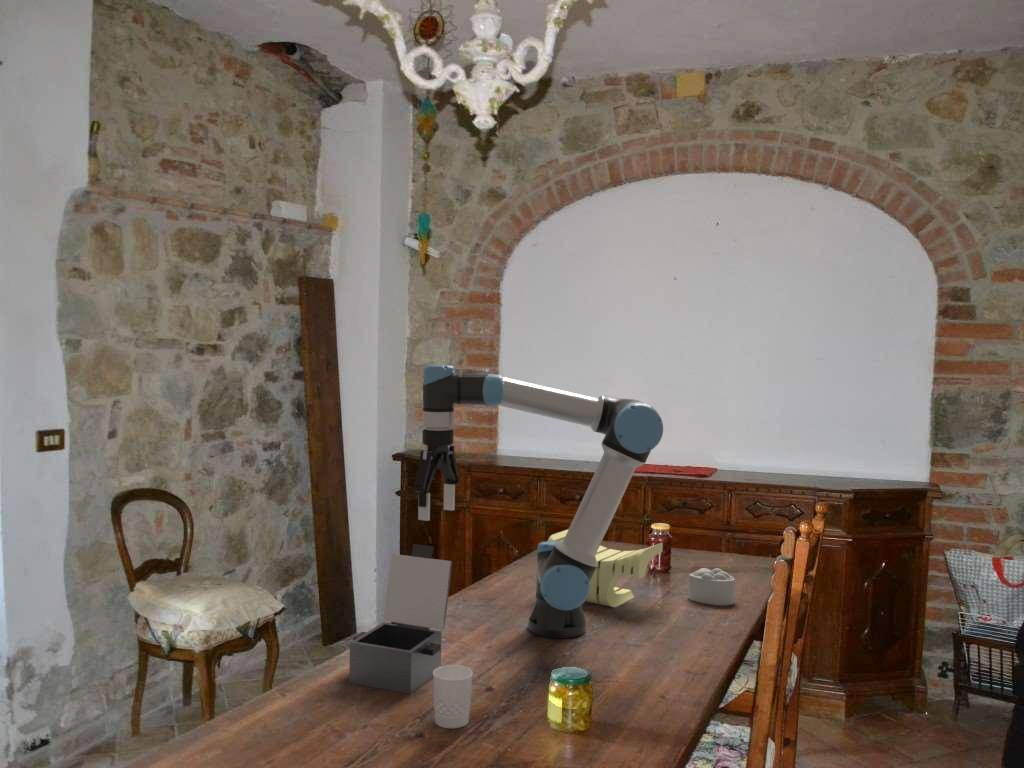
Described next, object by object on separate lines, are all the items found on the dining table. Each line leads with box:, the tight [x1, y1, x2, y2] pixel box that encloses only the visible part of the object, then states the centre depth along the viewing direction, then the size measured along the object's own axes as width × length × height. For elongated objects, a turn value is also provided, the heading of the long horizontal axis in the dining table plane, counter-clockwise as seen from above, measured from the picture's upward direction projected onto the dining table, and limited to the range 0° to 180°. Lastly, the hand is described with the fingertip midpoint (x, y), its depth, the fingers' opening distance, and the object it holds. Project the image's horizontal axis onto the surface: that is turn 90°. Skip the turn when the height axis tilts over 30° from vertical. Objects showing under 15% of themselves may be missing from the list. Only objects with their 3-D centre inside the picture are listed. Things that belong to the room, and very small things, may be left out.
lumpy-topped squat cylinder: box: [687, 567, 736, 606], centre depth 264 cm, size 10×13×9 cm
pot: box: [348, 621, 443, 695], centre depth 199 cm, size 20×15×9 cm
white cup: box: [432, 664, 474, 730], centre depth 176 cm, size 8×8×10 cm
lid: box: [382, 543, 453, 631], centre depth 208 cm, size 15×19×2 cm
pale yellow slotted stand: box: [546, 528, 664, 608], centre depth 261 cm, size 30×16×18 cm, turn 57°
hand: (436, 515), depth 218 cm, fingers open, 13 cm apart
